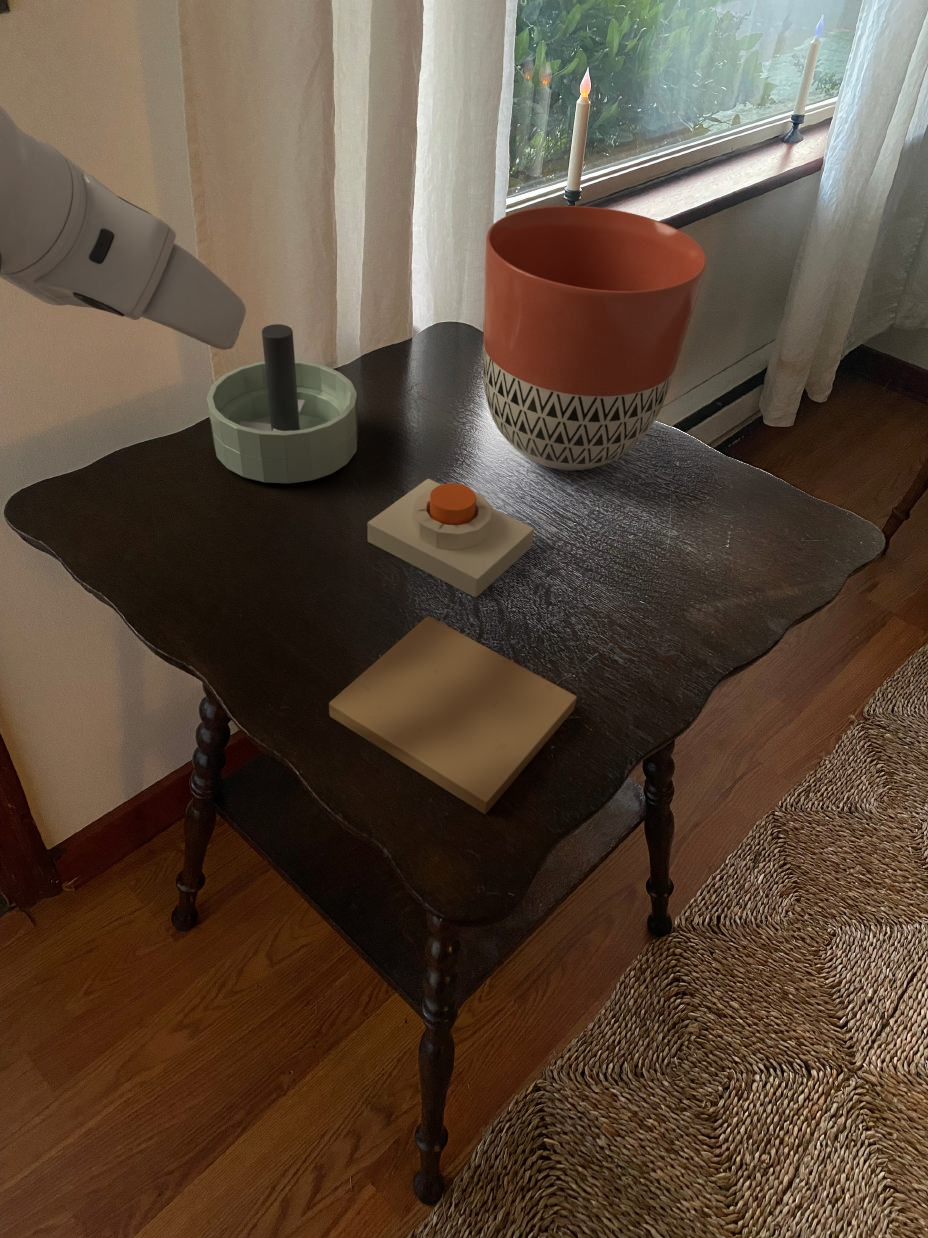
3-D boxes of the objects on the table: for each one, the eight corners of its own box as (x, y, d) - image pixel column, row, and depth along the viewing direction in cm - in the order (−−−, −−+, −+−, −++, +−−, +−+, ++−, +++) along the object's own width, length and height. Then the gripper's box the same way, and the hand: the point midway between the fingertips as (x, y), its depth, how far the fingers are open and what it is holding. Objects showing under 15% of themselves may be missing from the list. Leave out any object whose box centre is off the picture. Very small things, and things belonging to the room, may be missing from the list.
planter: (446, 413, 98) (458, 210, 83) (608, 395, 103) (646, 200, 88) (506, 519, 85) (532, 300, 70) (688, 493, 90) (749, 283, 75)
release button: (420, 514, 79) (420, 497, 77) (447, 493, 81) (448, 477, 80) (457, 532, 77) (458, 515, 76) (483, 510, 79) (485, 494, 78)
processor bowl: (185, 451, 90) (175, 397, 85) (284, 397, 98) (280, 346, 94) (290, 506, 84) (285, 452, 80) (385, 443, 93) (385, 391, 89)
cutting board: (329, 716, 66) (328, 703, 65) (427, 628, 73) (428, 614, 72) (485, 815, 61) (487, 802, 60) (574, 709, 68) (577, 696, 67)
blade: (226, 463, 87) (210, 349, 79) (252, 413, 94) (240, 303, 86) (323, 474, 87) (317, 360, 79) (342, 422, 94) (338, 313, 86)
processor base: (367, 541, 81) (366, 505, 78) (427, 496, 87) (428, 461, 84) (475, 598, 76) (479, 562, 74) (532, 547, 82) (537, 511, 79)
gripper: (-61, 235, 64) (84, 318, 77) (140, 319, 56) (263, 395, 69) (-25, 153, 63) (114, 250, 76) (181, 226, 56) (297, 320, 69)
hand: (186, 320), depth 73 cm, fingers open, 8 cm apart
